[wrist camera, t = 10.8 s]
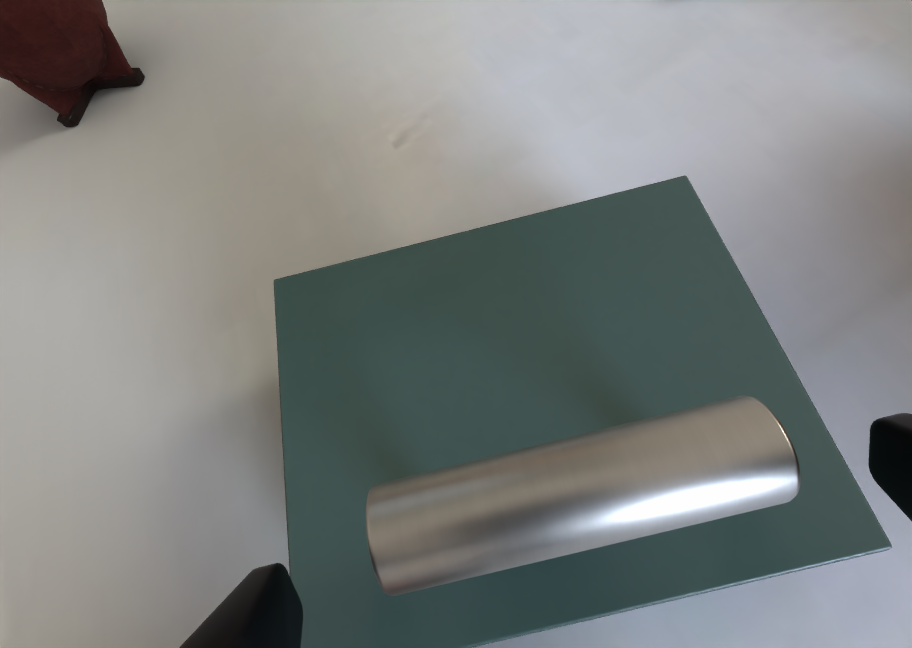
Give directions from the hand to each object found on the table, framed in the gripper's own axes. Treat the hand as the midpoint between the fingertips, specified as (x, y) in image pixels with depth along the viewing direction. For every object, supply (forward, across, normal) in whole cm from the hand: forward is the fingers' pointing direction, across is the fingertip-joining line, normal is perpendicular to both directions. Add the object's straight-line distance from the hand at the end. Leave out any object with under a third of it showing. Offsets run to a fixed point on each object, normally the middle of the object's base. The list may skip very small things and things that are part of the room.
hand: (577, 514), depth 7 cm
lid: (+5, 0, 0) cm, 5 cm away
